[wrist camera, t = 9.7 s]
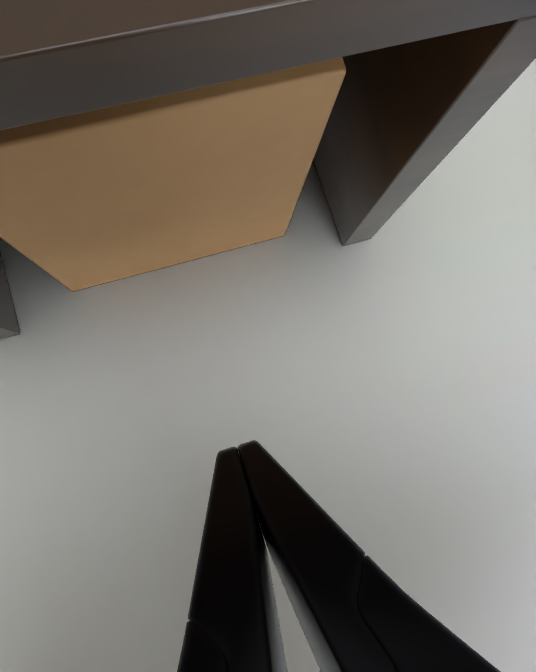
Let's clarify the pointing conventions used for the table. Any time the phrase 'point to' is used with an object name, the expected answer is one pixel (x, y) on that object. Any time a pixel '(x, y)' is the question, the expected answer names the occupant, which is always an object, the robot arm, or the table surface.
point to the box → (164, 175)
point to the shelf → (273, 55)
